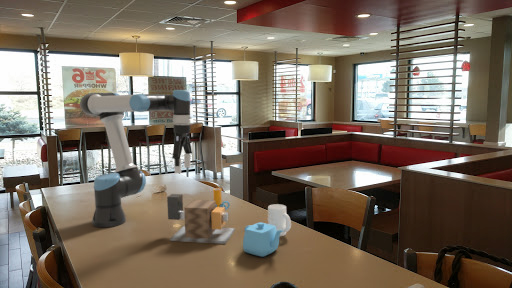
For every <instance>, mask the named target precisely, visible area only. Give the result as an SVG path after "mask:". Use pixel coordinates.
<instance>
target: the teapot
mask: <svg viewBox="0 0 512 288" xmlns="http://www.w3.org/2000/svg"><path fill="white" fill-rule="evenodd" d="M282 231H284V230H278V231H277V229H276V226H274V225H270V224H268V223H266V222H265V223H264V222H261V221H260V222H257V223H253V224H252V225H251V224H250V225H246V226H245V227H244V235H243V240H242V248H243V251H244V252H245V253H247V254H250V255H254V256H258V257H261V258H263V257H266V256H268V255H270V254H272V253H273V252H275V251H277V249H278V247H279V244H280V237H281V236H280V233H281V232H282Z"/></svg>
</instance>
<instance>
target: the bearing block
mask: <svg viewBox="0 0 512 288" xmlns="http://www.w3.org/2000/svg"><path fill="white" fill-rule="evenodd" d="M215 208H216V203H215V201H211V200H206V199H205V200H203V199H193V200H192V201H190V203H188V204H187V205H186V206H183V211H184V213H185V219H184V225H183V226H182V227H181V228H180V229H178V230H177V231H176V232H175V233H174V234H173V235H172V236H171V237H170V238H169V239H170V242H171V241H173V242H174V241H175V242H185V243H187V242H189V243H206V244H207V243H208V244H220V245H221V244H223V245H226V244H227V242H228V241H229V239H230V238H231V236H232V235H233V233H234V232H235V227H234V228H233V227H223V228H222V229H221V230H220V229H212V221H210V212H212V211H213V210H214V209H215Z"/></svg>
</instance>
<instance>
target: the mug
mask: <svg viewBox="0 0 512 288" xmlns="http://www.w3.org/2000/svg"><path fill="white" fill-rule="evenodd" d="M267 224H270V225H274V226H276V229H277V231H278V230H284V231H282V232H281V233H280V237H283V236H285V235H287V232H289V231H290V230H291V227H292V221H291V217H290V216H289V214H287V206H286V205H284V204H279V203H277V204H270V205H268V207H267Z"/></svg>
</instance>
